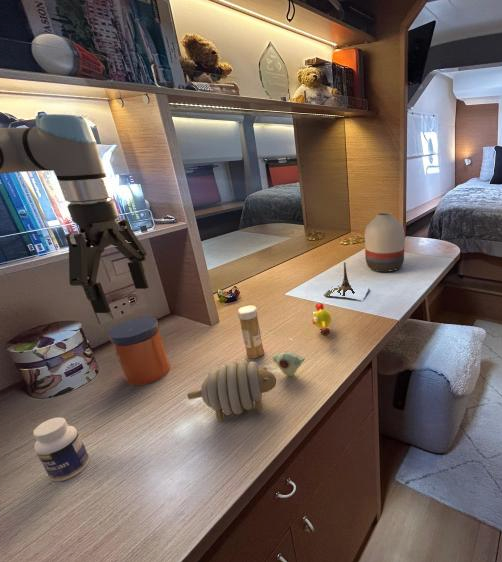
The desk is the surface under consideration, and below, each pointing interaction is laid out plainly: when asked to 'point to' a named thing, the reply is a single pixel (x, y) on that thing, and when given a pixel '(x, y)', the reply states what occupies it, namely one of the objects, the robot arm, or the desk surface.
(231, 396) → the toy sheep
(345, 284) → the eiffel tower figurine
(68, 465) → the pill bottle
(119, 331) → the jar lid
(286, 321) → the desk surface
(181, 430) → the desk surface
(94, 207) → the robot arm
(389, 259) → the vase
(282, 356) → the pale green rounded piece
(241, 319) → the sprinkles bottle
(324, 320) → the toy figure
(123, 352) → the jar
